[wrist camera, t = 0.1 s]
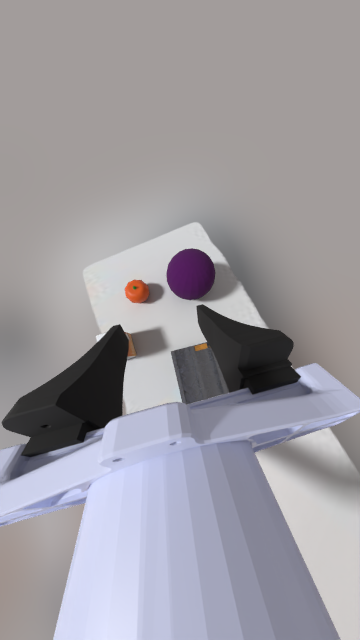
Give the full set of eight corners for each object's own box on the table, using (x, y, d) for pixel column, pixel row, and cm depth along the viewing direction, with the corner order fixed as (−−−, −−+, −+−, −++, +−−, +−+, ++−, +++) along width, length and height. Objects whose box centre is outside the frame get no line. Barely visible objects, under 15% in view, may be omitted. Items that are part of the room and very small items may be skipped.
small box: (137, 356, 43) (123, 358, 32) (120, 362, 42) (101, 366, 32) (130, 333, 44) (115, 328, 34) (114, 338, 44) (94, 335, 34)
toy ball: (160, 281, 48) (152, 252, 34) (193, 262, 50) (199, 226, 36) (183, 314, 46) (185, 297, 31) (217, 292, 48) (234, 266, 33)
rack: (242, 387, 41) (249, 391, 37) (183, 403, 39) (184, 409, 36) (226, 337, 44) (230, 336, 40) (171, 351, 43) (170, 351, 39)
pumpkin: (155, 298, 47) (150, 289, 40) (135, 309, 46) (126, 302, 39) (145, 282, 48) (139, 270, 41) (125, 292, 47) (116, 282, 40)
